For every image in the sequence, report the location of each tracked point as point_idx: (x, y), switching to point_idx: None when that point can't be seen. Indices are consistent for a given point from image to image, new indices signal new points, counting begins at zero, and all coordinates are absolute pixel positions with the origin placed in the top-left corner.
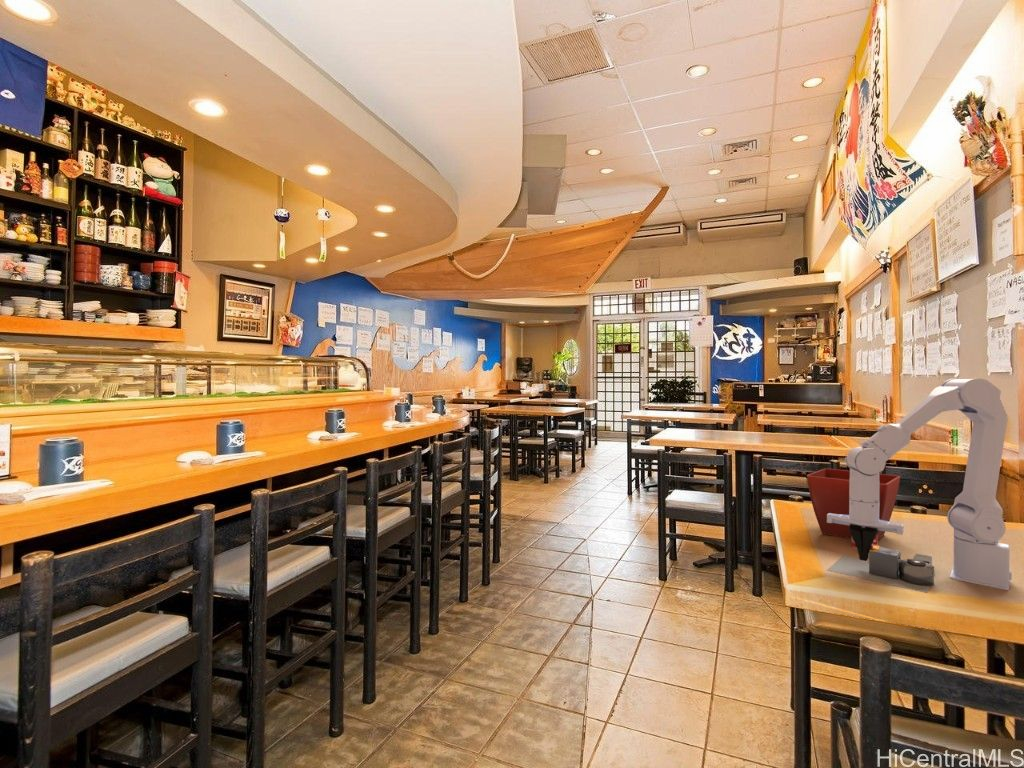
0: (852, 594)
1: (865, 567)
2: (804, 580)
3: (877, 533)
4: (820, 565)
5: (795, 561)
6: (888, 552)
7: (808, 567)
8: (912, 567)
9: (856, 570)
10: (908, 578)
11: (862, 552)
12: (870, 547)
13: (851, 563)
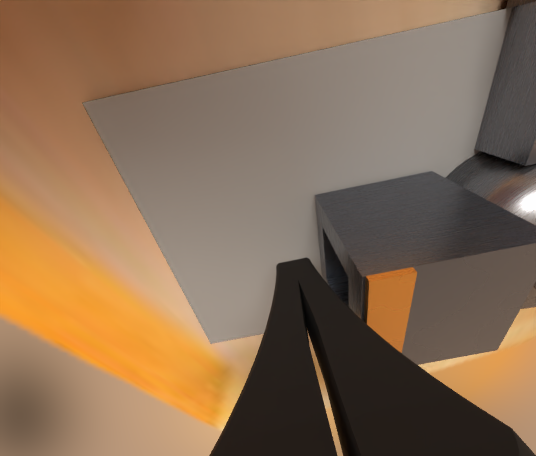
0: (328, 396)
1: (282, 213)
2: (221, 407)
3: (485, 422)
4: (155, 309)
5: (82, 337)
6: (459, 333)
7: (154, 348)
8: (525, 306)
9: (274, 278)
10: None
11: (307, 335)
12: (342, 303)
13: (212, 208)
